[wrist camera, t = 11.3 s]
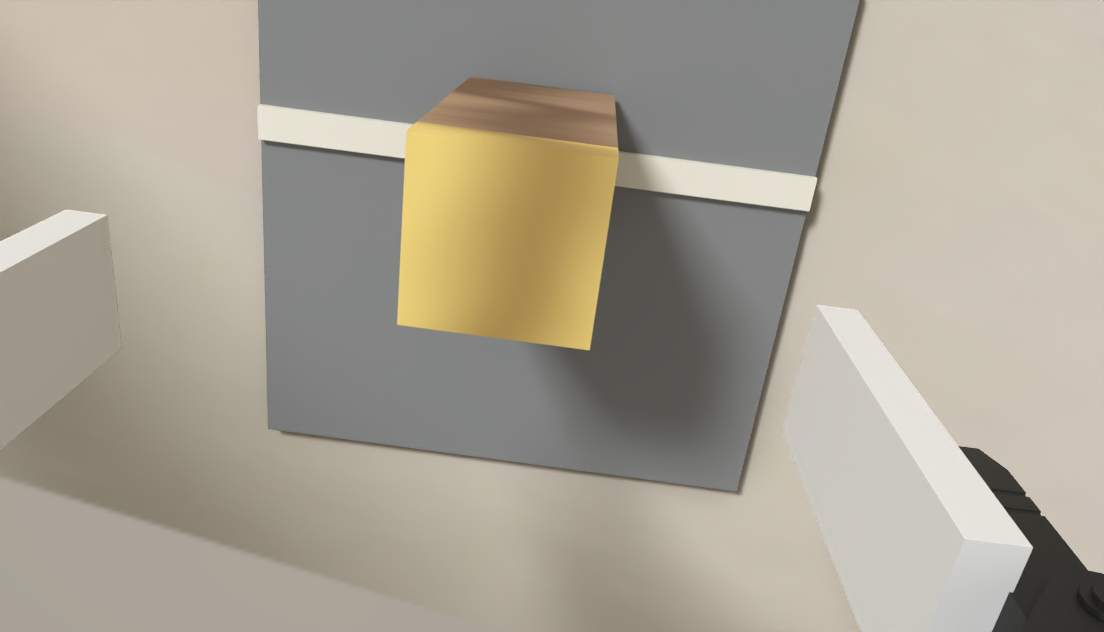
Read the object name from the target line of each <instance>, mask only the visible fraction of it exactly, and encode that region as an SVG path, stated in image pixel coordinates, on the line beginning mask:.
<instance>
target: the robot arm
mask: <svg viewBox="0 0 1104 632" xmlns="http://www.w3.org/2000/svg"><path fill="white" fill-rule="evenodd" d="M121 349H122V346H121V336H120V327H119V318H118V308H117V299H116V290H115V280H114V271H113V262H112V252H111V243H110V233H109V224H108V215H106V214H98V213H90V212H82V211H74V210H67V209H66V210H64V211H62V212H60V213H58V214H55V215H53V216H51V217H49V218H47V219H45V220H43V221H41V222H39V223H37V224H35V225H33V226H31V227H29V228H27V229H25V230H23V231H20V232H18V233H16V234H14V235H12V236H10V237H8V238H6V239H4V240H2V241H0V450H1V449H2V448H4V447H5V446H6V445H7V444H8V443H10V442H11V441H12V440H13V439H14V438H16V437H17V436H18V435H19V434H20V433H22V432H23V431H24V430H25V429H26V428H28V427H29V426H30V425H31V424H32V423H34V422H35V421H36V420H37V419H38V418H40V417H41V416H42V415H43V414H44V413H45V412H47V411H48V410H49V409H50V408H51V407H53V406H54V405H55V404H56V403H57V402H59V401H60V400H61V399H62V398H63V397H65V396H66V395H67V394H68V393H69V392H71V391H72V390H73V389H74V388H75V387H77V386H78V385H79V384H80V383H81V382H82V381H84V380H85V379H86V378H87V377H88V376H90V375H91V374H92V373H93V372H94V371H96V370H97V369H98V368H99V367H100V366H102V365H103V364H104V363H105V362H106V361H108V360H109V359H110V358H111V357H112V356H114V355H115V354H116V353H117V352H118V351H119V350H121ZM782 433H783V436H784V438H785V441H786V444H787V446H788V449H789V451H790V454H791V456H792V459H793V461H794V464H795V466H796V469H797V472H798V474H799V477H800V479H801V482H802V484H803V487H804V489H805V492H806V494H807V497H808V500H809V502H810V505H811V507H812V510H813V512H814V515H815V517H816V520H817V522H818V525H819V528H820V530H821V533H822V535H823V538H824V540H825V543H826V545H827V548H828V550H829V553H830V556H831V558H832V561H833V563H834V566H835V568H836V571H837V573H838V576H839V578H840V581H841V584H842V586H843V589H844V591H845V594H846V596H847V599H848V601H849V604H850V607H851V609H852V612H853V614H854V617H855V619H856V622H857V624H858V627H859V629H860V632H1104V574H1102V573H1097V572H1092V571H1088V570H1087V569H1086V567H1085V566H1084V565H1083V564H1082V562H1081V561H1080V560H1079V559H1078V557H1077V556H1076V555H1075V554H1074V552H1073V551H1072V550H1071V549H1070V547H1069V546H1068V545H1067V544H1066V542H1065V541H1064V540H1063V539H1062V537H1061V536H1060V535H1059V534H1058V532H1057V531H1056V530H1055V529H1054V527H1053V526H1052V525H1051V524H1050V522H1049V521H1048V520H1047V519H1046V517H1045V516H1041V515H1040V513H1041V511H1040V510H1039V509H1038V507H1037V506H1036V505H1035V504H1034V502H1033V501H1032V500H1031V499H1030V497H1026V496H1025V494H1026V492H1025V491H1024V490H1023V489H1022V487H1021V486H1020V485H1019V484H1018V482H1017V481H1016V480H1015V479H1014V477H1013V476H1012V475H1011V474H1010V472H1009V471H1008V470H1007V469H1005V468H1004V467H1003V466H1001V465H1000V464H999V463H997V462H996V461H994V460H993V459H992V458H990V457H989V456H988V455H986V454H985V453H984V452H982V451H981V450H979V449H976V448H968V447H960V446H958V445H957V444H956V442H955V441H954V440H953V438H952V437H951V436H950V434H949V433H948V432H947V430H946V429H945V428H944V426H943V425H942V424H941V422H940V421H939V419H938V418H937V417H936V415H935V414H934V413H933V411H932V410H931V409H930V407H929V406H928V405H927V403H926V402H925V401H924V399H923V398H922V396H921V395H920V394H919V392H918V391H917V390H916V388H915V387H914V386H913V384H912V383H911V382H910V380H909V379H908V378H907V376H906V375H905V373H904V372H903V371H902V369H901V368H900V367H899V365H898V364H897V363H896V361H895V360H894V359H893V357H892V356H891V355H890V353H889V352H888V350H887V349H886V348H885V346H884V345H883V344H882V342H881V341H880V340H879V338H878V337H877V336H876V334H875V333H874V332H873V330H872V329H871V327H870V326H869V325H868V323H867V322H866V321H865V319H864V318H863V317H862V315H861V314H860V313H859V311H858V310H855V309H847V308H839V307H831V306H823V305H816V308H815V311H814V315H813V319H812V322H811V326H810V330H809V333H808V337H807V341H806V345H805V348H804V352H803V356H802V359H801V363H800V367H799V370H798V374H797V378H796V381H795V385H794V389H793V393H792V396H791V400H790V404H789V407H788V411H787V415H786V418H785V422H784V426H783V429H782Z"/></svg>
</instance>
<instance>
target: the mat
mask: <svg viewBox="0 0 1104 632" xmlns="http://www.w3.org/2000/svg"><path fill="white" fill-rule="evenodd" d="M859 1H860V0H258V17H259V59H260V102H261V104H260V105H257V113H258V139H260V140H261V144H262V187H263V229H264V272H265V314H266V357H267V399H268V429H273V430H280V431H288V432H295V433H303V434H310V435H318V436H325V437H332V438H340V439H347V440H355V441H362V442H370V443H377V444H385V445H392V446H400V447H407V448H415V449H422V450H430V451H437V452H444V453H452V454H459V455H467V456H474V457H482V458H489V459H497V460H504V461H512V462H519V463H527V464H534V465H542V466H549V467H557V468H564V469H571V470H579V471H586V472H594V473H601V474H609V475H616V476H624V477H631V478H639V479H646V480H654V481H661V482H669V483H676V484H683V485H691V486H698V487H706V488H713V489H721V490H728V491H736V492H737V488H738V484H739V480H740V476H741V472H742V468H743V464H744V460H745V456H746V452H747V448H748V444H749V440H750V436H751V432H752V428H753V424H754V420H755V416H756V412H757V409H758V405H759V401H760V397H761V393H762V389H763V385H764V381H765V377H766V373H767V369H768V365H769V361H770V357H771V353H772V349H773V345H774V341H775V337H776V333H777V329H778V325H779V321H780V317H781V313H782V309H783V305H784V301H785V297H786V293H787V289H788V285H789V281H790V277H791V273H792V269H793V265H794V261H795V257H796V253H797V249H798V245H799V241H800V237H801V233H802V229H803V225H804V221H805V217H806V213H807V211H810V207H811V203H812V199H813V195H814V191H815V187H816V183H817V178H816V173H817V169H818V165H819V161H820V157H821V153H822V149H823V145H824V141H825V137H826V133H827V129H828V125H829V121H830V117H831V113H832V109H833V105H834V101H835V97H836V93H837V89H838V85H839V81H840V77H841V73H842V69H843V65H844V61H845V57H846V53H847V49H848V45H849V41H850V37H851V33H852V29H853V25H854V21H855V17H856V13H857V9H858V5H859ZM470 76H473V77H480V78H488V79H496V80H503V81H511V82H519V83H526V84H534V85H542V86H549V87H557V88H564V89H572V90H580V91H587V92H595V93H603V94H610V95H615V109H616V124H617V138H618V153H619V161H618V168H617V174H616V181H615V187H614V194H613V201H612V207H611V214H610V220H609V227H608V233H607V240H606V247H605V253H604V260H603V266H602V273H601V279H600V286H599V293H598V299H597V306H596V312H595V319H594V325H593V332H592V339H591V345H590V350H583V349H575V348H568V347H560V346H553V345H545V344H538V343H530V342H523V341H515V340H508V339H500V338H493V337H485V336H478V335H470V334H463V333H455V332H448V331H440V330H433V329H425V328H418V327H410V326H403V325H397V316H398V294H399V273H400V252H401V231H402V210H403V188H404V167H405V146H406V130H408V129H409V128H410V127H411V126H412V125H413V124H415V123H416V122H417V121H418V120H419V119H421V118H422V117H423V116H424V115H425V114H427V113H428V112H429V111H430V110H431V109H432V108H434V107H435V106H436V105H437V104H438V103H440V102H441V101H442V100H443V99H444V98H445V97H447V96H448V95H449V94H450V93H451V92H453V91H454V90H455V89H456V88H457V87H458V86H460V85H461V84H462V83H463V82H464V81H466V80H467V79H468V78H469V77H470Z"/></svg>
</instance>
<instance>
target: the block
mask: <svg viewBox="0 0 1104 632" xmlns="http://www.w3.org/2000/svg"><path fill="white" fill-rule="evenodd" d="M618 161H619V153H618V138H617V124H616V109H615V95H610V94H603V93H595V92H587V91H580V90H572V89H564V88H557V87H549V86H542V85H534V84H526V83H519V82H511V81H503V80H496V79H488V78H480V77H473V76H470V77H469V78H468V79H467V80H466V81H464V82H463V83H462V84H461V85H460V86H458V87H457V88H456V89H455V90H454V91H453V92H451V93H450V94H449V95H448V96H447V97H445V98H444V99H443V100H442V101H441V102H440V103H438V104H437V105H436V106H435V107H434V108H432V109H431V110H430V111H429V112H428V113H427V114H425V115H424V116H423V117H422V118H421V119H419V120H418V121H417V122H416V123H415V124H413V125H412V126H411V127H410V128H409V129H408V130H406V146H405V167H404V188H403V210H402V231H401V252H400V273H399V294H398V316H397V325H403V326H410V327H418V328H425V329H433V330H440V331H448V332H455V333H463V334H470V335H478V336H485V337H493V338H500V339H508V340H515V341H523V342H530V343H538V344H545V345H553V346H560V347H568V348H575V349H583V350H590V345H591V339H592V332H593V325H594V319H595V312H596V306H597V299H598V293H599V286H600V279H601V273H602V266H603V260H604V253H605V247H606V240H607V233H608V227H609V220H610V214H611V207H612V201H613V194H614V187H615V181H616V174H617V168H618Z"/></svg>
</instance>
